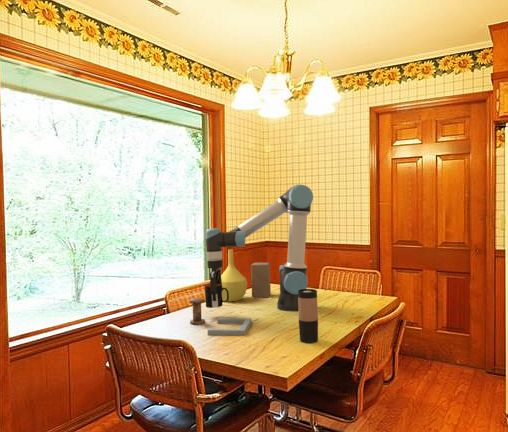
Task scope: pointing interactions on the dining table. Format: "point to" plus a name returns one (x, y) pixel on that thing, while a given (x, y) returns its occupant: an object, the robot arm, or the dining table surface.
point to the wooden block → (260, 280)
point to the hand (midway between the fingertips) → (217, 305)
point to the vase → (233, 281)
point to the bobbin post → (197, 311)
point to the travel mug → (308, 315)
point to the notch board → (242, 331)
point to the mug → (219, 292)
